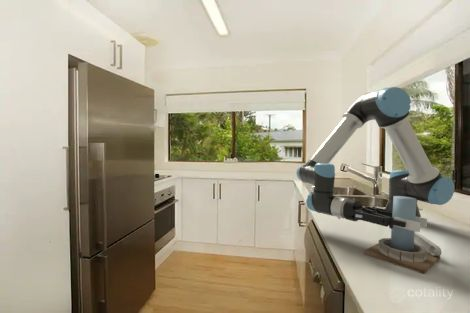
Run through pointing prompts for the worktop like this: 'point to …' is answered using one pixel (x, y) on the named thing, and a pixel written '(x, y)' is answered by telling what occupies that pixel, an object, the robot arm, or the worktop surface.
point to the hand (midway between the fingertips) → (423, 225)
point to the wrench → (427, 244)
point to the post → (404, 210)
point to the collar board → (424, 267)
